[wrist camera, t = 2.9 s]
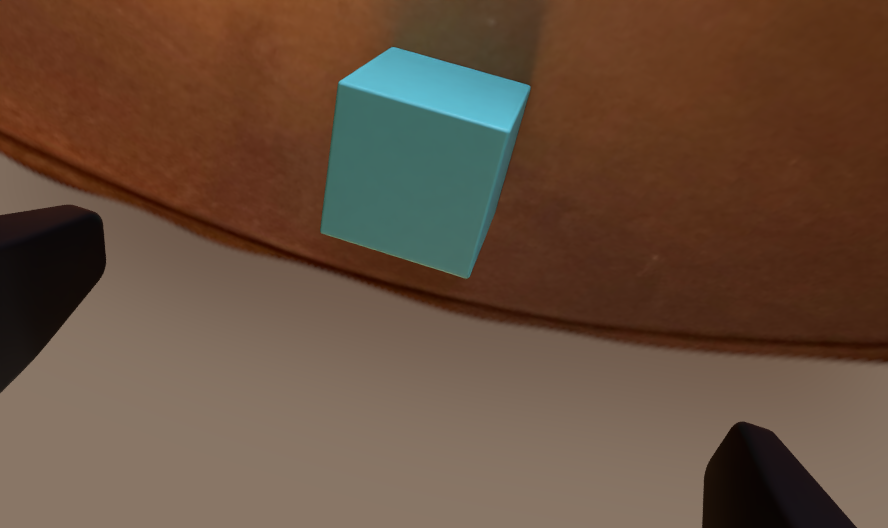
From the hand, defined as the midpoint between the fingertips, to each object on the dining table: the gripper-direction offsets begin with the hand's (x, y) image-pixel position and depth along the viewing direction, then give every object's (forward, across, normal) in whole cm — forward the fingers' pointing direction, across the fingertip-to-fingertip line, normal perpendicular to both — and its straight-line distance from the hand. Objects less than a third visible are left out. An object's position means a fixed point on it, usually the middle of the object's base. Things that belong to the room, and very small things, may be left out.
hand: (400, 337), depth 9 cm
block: (+11, +2, +1) cm, 11 cm away
